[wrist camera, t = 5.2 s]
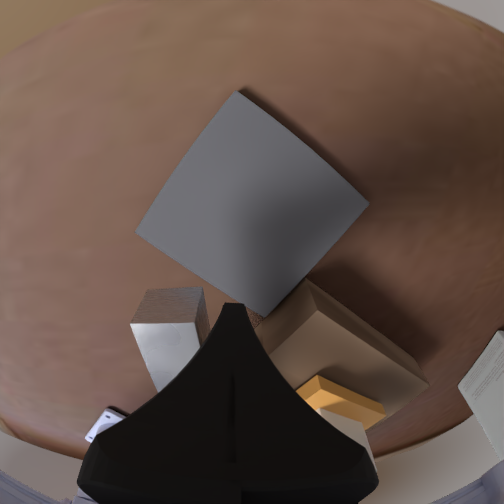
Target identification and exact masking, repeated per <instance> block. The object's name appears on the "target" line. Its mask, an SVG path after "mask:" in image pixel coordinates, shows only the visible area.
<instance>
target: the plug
mask: <svg viewBox="0 0 504 504" xmlns="http://www.w3.org/2000/svg"><path fill="white" fill-rule="evenodd" d="M296 392H297V393H298V394H299V395H300V396H301V397H302V398H303V399H304V400H305V401H306V402H307V403H308V404H309V405H310V406H311V407H312V408H313V409H314V410H315V411H316V412H317V413H318V414H320V415H321V416H322V417H323V418H324V419H325V420H327V421H328V422H329V423H330V424H332V425H333V426H334V427H335V428H337V429H338V430H339V431H341V432H342V433H344V434H345V435H347V436H348V437H350V438H351V439H353V440H354V441H356V442H358V443H359V444H361V445H362V446H364V447H365V448H366V450H367V452H368V454H369V456H370V458H371V460H372V462H373V464H374V467H375V469H376V465H375V462H374V459H373V456H372V452H371V449H370V446H369V443H368V440H367V437H366V434H365V430H366V429H368V428H369V427H371V426H372V425H374V424H375V423H377V422H378V421H380V420H381V419H383V418H384V417H386V416H387V415H386V413H385V410H384V408H383V406H382V404H380V403H378V402H375V401H373V400H371V399H369V398H366V397H364V396H362V395H360V394H357V393H355V392H353V391H351V390H349V389H346V388H344V387H342V386H340V385H338V384H336V383H334V382H332V381H329V380H327V379H325V378H323V377H321V376H319V375H316V376H315V377H313V378H312V379H311V380H310V381H308V382H307V383H306V384H304V385H303V386H302V387H300V388H299V389H298V390H296ZM376 472H377V469H376Z"/></svg>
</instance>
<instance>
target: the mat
mask: <svg viewBox="0 0 504 504" xmlns="http://www.w3.org/2000/svg"><path fill="white" fill-rule="evenodd" d="M369 204H370V203H369V202H368V201H367V200H366V199H365V198H364V197H363V196H362V195H361V194H360V193H359V192H358V191H357V190H356V189H355V188H354V187H352V186H351V185H350V184H349V183H348V182H347V181H346V180H345V179H344V178H343V177H342V176H341V175H340V174H339V173H338V172H337V171H335V170H334V169H333V168H332V167H331V166H330V165H329V164H328V163H327V162H325V161H324V160H323V159H322V158H321V157H320V156H319V155H318V154H316V153H315V152H314V151H313V150H312V149H311V148H309V147H308V146H307V145H306V144H305V143H304V142H302V141H301V140H300V139H299V138H298V137H296V136H295V135H294V134H293V133H292V132H290V131H289V130H288V129H287V128H285V127H284V126H283V125H282V124H280V123H279V122H278V121H276V120H275V119H274V118H273V117H271V116H270V115H269V114H267V113H266V112H265V111H264V110H262V109H261V108H260V107H258V106H257V105H255V104H254V103H253V102H251V101H250V100H249V99H247V98H246V97H245V96H243V95H242V94H240V93H239V92H237V91H236V90H235V91H234V93H233V94H232V95H231V96H230V97H229V99H228V100H227V101H226V102H225V104H224V105H223V106H222V107H221V108H220V110H219V111H218V112H217V113H216V115H215V116H214V117H213V119H212V120H211V121H210V122H209V124H208V125H207V126H206V128H205V129H204V130H203V131H202V133H201V134H200V135H199V137H198V138H197V139H196V141H195V142H194V144H193V145H192V146H191V148H190V149H189V150H188V152H187V153H186V155H185V156H184V157H183V159H182V160H181V162H180V163H179V164H178V166H177V167H176V169H175V170H174V172H173V173H172V175H171V176H170V178H169V179H168V180H167V182H166V183H165V185H164V186H163V188H162V189H161V191H160V193H159V194H158V196H157V197H156V199H155V200H154V202H153V203H152V205H151V207H150V208H149V210H148V211H147V213H146V215H145V216H144V218H143V220H142V221H141V223H140V224H139V226H138V228H137V229H136V231H135V233H136V234H138V235H139V236H140V237H142V238H143V239H145V240H146V241H148V242H149V243H150V244H152V245H153V246H155V247H156V248H158V249H159V250H161V251H162V252H163V253H165V254H166V255H168V256H169V257H171V258H172V259H174V260H175V261H177V262H178V263H180V264H181V265H183V266H184V267H186V268H187V269H189V270H190V271H192V272H193V273H195V274H196V275H198V276H199V277H201V278H202V279H204V280H205V281H207V282H208V283H210V284H211V285H213V286H215V287H216V288H218V289H219V290H221V291H222V292H224V293H225V294H227V295H229V296H230V297H232V298H233V299H235V300H236V301H238V302H240V303H242V304H245V306H246V307H248V308H249V309H251V310H252V311H254V312H256V313H257V314H259V315H261V316H262V317H264V318H265V317H266V316H267V315H268V314H269V313H270V312H271V311H272V310H273V309H274V308H275V307H276V306H277V305H278V304H279V303H280V302H281V300H282V299H283V298H284V297H285V296H286V295H287V294H288V293H289V292H290V291H291V290H292V289H293V288H294V287H295V286H296V285H297V284H298V283H299V282H300V281H301V280H302V279H303V277H304V276H305V275H306V274H307V273H308V272H309V271H310V270H311V269H312V268H313V267H314V266H315V265H316V264H317V262H318V261H319V260H320V259H321V258H322V257H323V256H324V255H325V254H326V253H327V252H328V250H329V249H330V248H331V247H332V246H333V245H334V244H335V243H336V242H337V241H338V239H339V238H340V237H341V236H342V235H343V234H344V233H345V232H346V230H347V229H348V228H349V227H350V226H351V225H352V224H353V222H354V221H355V220H356V219H357V218H358V217H359V216H360V214H361V213H362V212H363V211H364V210H365V209H366V207H367V206H368V205H369Z"/></svg>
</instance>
